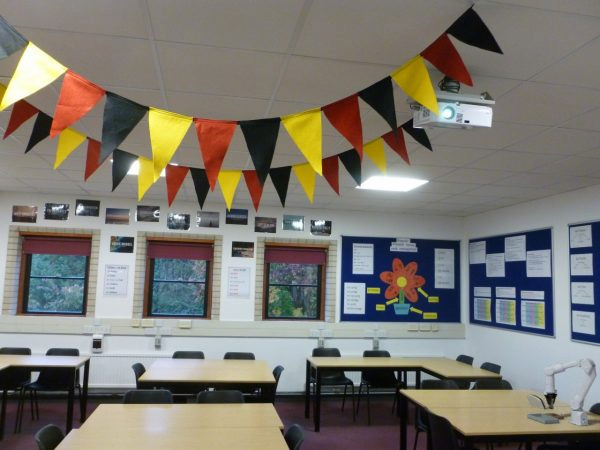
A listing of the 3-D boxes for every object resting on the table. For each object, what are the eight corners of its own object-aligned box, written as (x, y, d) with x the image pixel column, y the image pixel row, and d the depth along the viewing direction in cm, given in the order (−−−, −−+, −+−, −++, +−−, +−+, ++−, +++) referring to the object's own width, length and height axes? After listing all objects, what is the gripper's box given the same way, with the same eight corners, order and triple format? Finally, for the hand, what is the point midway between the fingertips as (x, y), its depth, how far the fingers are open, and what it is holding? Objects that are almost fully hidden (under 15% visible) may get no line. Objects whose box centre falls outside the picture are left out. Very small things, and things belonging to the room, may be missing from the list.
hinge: (549, 409, 362) (544, 396, 362) (543, 411, 361) (539, 398, 362) (534, 403, 378) (530, 391, 379) (529, 406, 377) (525, 393, 378)
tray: (559, 423, 324) (559, 419, 324) (544, 424, 321) (544, 420, 321) (541, 416, 339) (541, 413, 340) (527, 417, 336) (527, 414, 336)
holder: (563, 419, 334) (563, 416, 334) (553, 420, 332) (553, 417, 332) (553, 415, 343) (553, 413, 343) (543, 416, 340) (543, 413, 340)
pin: (555, 409, 335) (555, 398, 336) (551, 409, 334) (550, 399, 335) (551, 407, 339) (550, 397, 340) (546, 408, 338) (546, 397, 339)
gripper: (549, 382, 346) (550, 401, 344) (539, 384, 338) (539, 404, 336) (559, 384, 340) (560, 404, 339) (549, 386, 332) (549, 406, 330)
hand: (550, 404), depth 337 cm, fingers closed on pin, 4 cm apart
